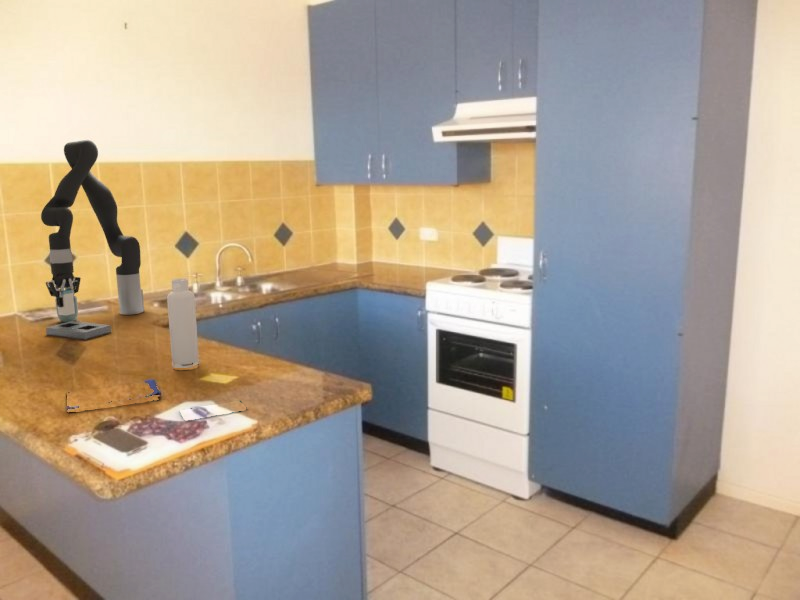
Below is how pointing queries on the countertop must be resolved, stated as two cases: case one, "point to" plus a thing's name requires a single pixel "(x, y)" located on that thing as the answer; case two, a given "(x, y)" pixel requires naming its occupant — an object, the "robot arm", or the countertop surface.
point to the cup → (68, 317)
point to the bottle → (182, 325)
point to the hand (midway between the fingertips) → (65, 305)
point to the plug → (67, 303)
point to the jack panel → (78, 330)
